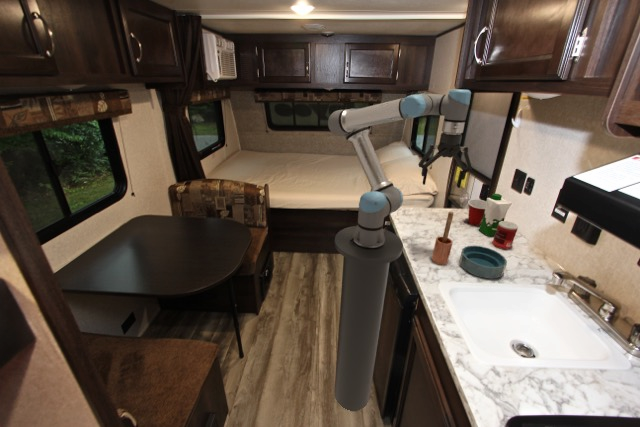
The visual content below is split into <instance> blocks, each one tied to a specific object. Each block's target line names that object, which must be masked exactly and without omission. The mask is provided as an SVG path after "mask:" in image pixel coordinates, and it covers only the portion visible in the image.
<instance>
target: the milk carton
mask: <svg viewBox="0 0 640 427" xmlns="http://www.w3.org/2000/svg"><path fill="white" fill-rule="evenodd" d="M486 202H487V204H486V209H485V213H484V216H483V219H482V221H481V223H480V225H479V228H478V231H479V232H481V233H482V234H484V235H485V236H487V237H495V233H496V230H497V227H498V224H499V222H501V221H505V219H506V216H507V213H508V211H509V209H510V207H511V205H512V202H510V201H508V200H507V199H504V198H503V195H502V194H499V193H492V196H491V197H487V198H486Z"/></svg>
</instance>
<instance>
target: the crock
mask: <svg viewBox="0 0 640 427" xmlns="http://www.w3.org/2000/svg"><path fill="white" fill-rule="evenodd" d="M442 239H443V236H437V237H436V238H435V241H434V245H433V246H434V247H433V251H432V255H431V260H432V262H433V263H434V264H437V265H440V266H444V265H447V264H448V262H449V259H450V255H451V251H452V247H453V243H454V242H453V240H452V239H451V238H449V237H448V238H447V242H446V244H445V243H442Z"/></svg>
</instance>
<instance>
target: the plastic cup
mask: <svg viewBox="0 0 640 427" xmlns="http://www.w3.org/2000/svg"><path fill="white" fill-rule="evenodd" d="M467 204H468V220H467V221H468V222H467V223H468V224H469V225H472V226H480V225H481V223H482V219H483V216H484V213H485V209H486V204H487V200H483V199H476V198H475V199H473V198H472V199H469V200H468V201H467Z"/></svg>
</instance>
